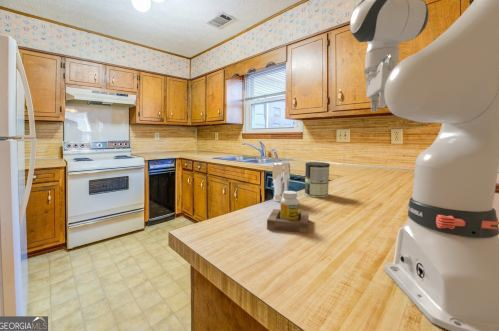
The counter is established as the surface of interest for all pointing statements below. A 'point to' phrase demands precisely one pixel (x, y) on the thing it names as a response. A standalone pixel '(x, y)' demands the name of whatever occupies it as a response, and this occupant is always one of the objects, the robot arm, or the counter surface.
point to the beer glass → (280, 179)
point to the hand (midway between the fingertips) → (378, 109)
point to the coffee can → (317, 179)
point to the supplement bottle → (289, 206)
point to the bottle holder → (288, 222)
